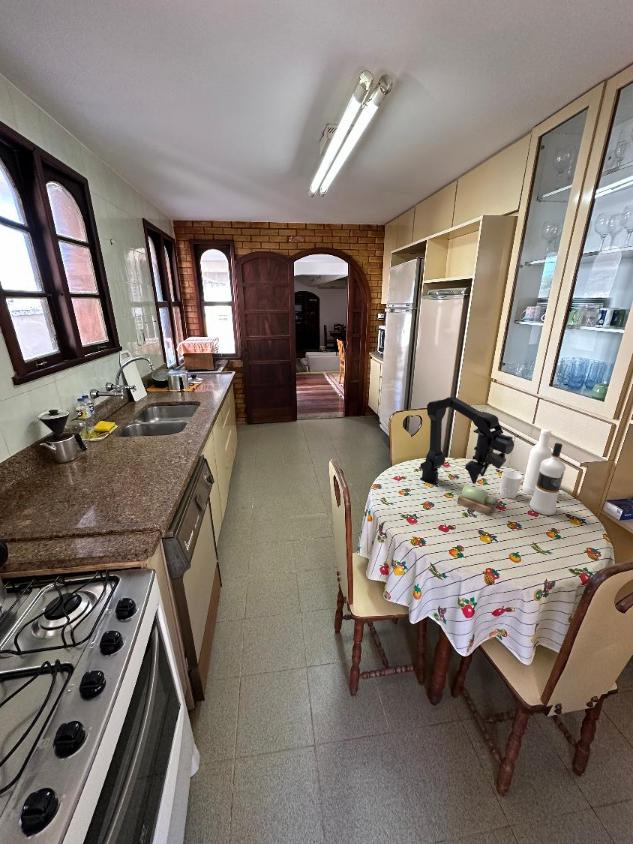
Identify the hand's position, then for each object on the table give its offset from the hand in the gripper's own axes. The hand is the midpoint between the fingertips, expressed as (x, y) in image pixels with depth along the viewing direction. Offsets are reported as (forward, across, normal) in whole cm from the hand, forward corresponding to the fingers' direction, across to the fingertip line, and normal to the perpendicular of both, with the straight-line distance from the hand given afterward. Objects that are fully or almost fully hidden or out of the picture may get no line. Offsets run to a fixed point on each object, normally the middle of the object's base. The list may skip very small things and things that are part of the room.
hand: (478, 479), depth 145 cm
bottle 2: (+12, +29, -15) cm, 35 cm away
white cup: (+12, +18, -8) cm, 23 cm away
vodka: (+12, +15, -22) cm, 29 cm away
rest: (+12, 0, -1) cm, 12 cm away
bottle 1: (+11, 0, -2) cm, 11 cm away
